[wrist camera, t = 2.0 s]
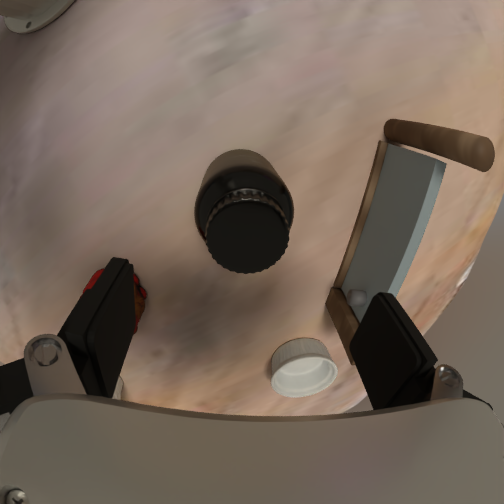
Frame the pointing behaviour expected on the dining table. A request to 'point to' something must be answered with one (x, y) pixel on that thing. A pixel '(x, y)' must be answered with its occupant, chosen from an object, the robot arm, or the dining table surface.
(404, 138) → the door frame
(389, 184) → the door
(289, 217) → the supplement bottle
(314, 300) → the dining table surface
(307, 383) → the ramekin
